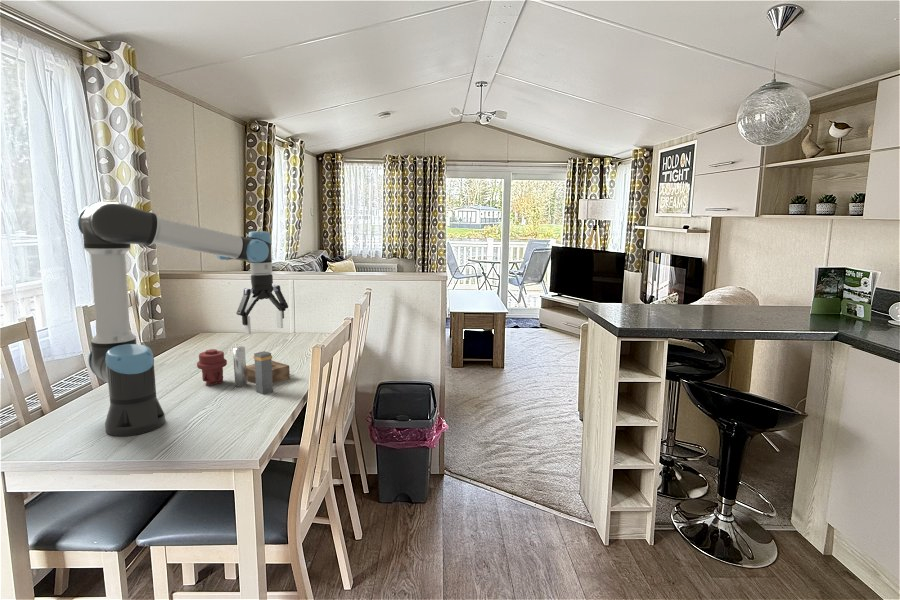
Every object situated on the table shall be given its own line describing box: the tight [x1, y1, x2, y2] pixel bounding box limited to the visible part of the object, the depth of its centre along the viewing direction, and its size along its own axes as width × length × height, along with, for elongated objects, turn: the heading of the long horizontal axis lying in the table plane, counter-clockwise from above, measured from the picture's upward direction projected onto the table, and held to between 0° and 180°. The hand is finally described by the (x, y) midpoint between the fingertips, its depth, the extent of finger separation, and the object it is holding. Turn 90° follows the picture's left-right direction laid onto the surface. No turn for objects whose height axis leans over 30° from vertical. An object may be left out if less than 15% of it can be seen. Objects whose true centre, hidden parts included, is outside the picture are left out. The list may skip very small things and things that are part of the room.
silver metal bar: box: [232, 345, 248, 388], centre depth 193 cm, size 4×4×14 cm
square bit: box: [253, 350, 274, 395], centre depth 186 cm, size 4×4×14 cm
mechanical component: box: [196, 348, 228, 386], centre depth 195 cm, size 12×10×10 cm
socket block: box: [246, 359, 291, 385], centre depth 201 cm, size 12×12×5 cm
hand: (264, 330), depth 198 cm, fingers open, 13 cm apart
